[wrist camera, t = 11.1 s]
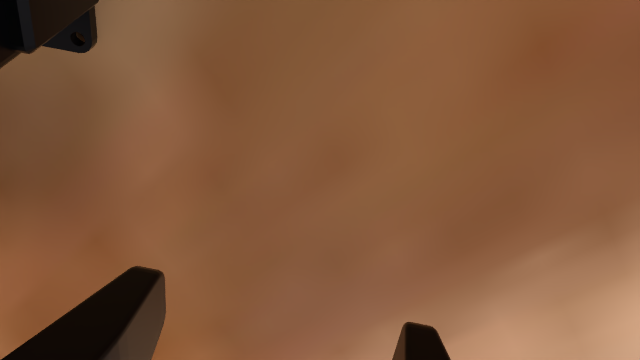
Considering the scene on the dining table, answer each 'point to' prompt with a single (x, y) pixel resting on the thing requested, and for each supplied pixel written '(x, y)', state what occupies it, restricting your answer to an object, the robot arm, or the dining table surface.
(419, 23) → the dining table surface
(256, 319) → the dining table surface
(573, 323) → the dining table surface
